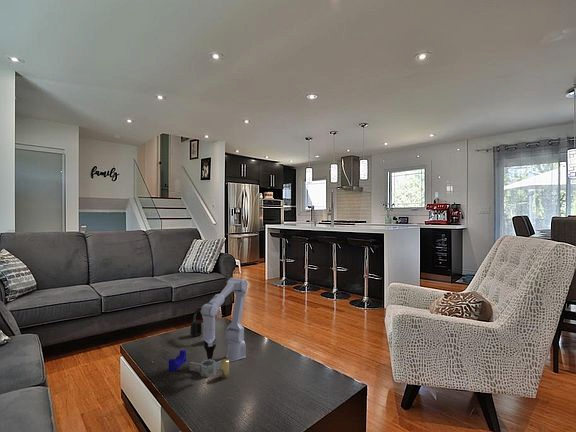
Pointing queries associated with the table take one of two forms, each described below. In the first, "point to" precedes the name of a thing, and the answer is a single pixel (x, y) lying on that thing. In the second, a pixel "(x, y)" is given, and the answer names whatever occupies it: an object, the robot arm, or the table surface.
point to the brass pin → (225, 368)
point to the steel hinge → (206, 367)
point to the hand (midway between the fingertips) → (209, 355)
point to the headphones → (196, 326)
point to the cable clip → (177, 361)
